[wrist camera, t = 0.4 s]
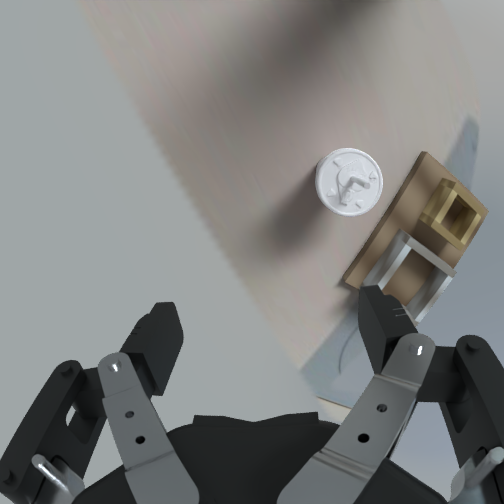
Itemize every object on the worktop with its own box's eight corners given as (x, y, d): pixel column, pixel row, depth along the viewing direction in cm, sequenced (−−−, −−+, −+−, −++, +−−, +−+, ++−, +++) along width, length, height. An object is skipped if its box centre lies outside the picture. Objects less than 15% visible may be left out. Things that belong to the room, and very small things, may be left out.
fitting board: (421, 151, 33) (440, 154, 28) (483, 208, 35) (502, 218, 30) (342, 276, 40) (350, 295, 35) (411, 315, 42) (423, 334, 37)
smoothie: (363, 155, 34) (412, 169, 21) (346, 203, 36) (384, 242, 23) (313, 137, 34) (340, 138, 21) (297, 187, 36) (313, 218, 23)
